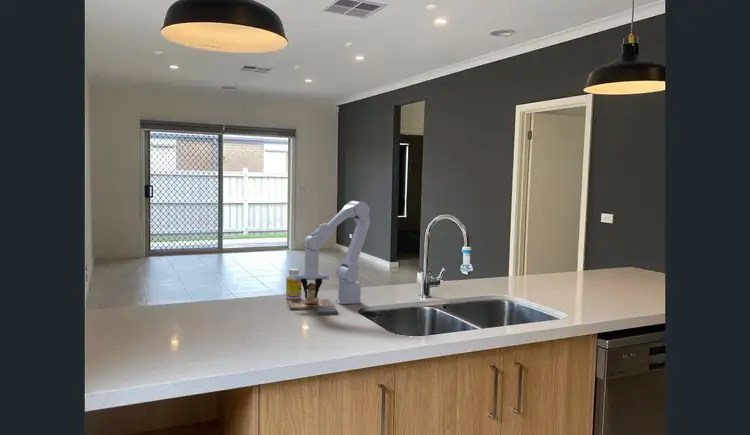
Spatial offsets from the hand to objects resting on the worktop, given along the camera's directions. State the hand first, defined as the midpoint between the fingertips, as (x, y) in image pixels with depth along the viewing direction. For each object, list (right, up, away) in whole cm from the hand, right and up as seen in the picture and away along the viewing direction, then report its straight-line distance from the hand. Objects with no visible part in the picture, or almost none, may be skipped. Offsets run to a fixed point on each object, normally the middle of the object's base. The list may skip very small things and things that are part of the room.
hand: (310, 296), depth 224 cm
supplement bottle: (-9, -3, +13) cm, 16 cm away
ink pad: (+7, -5, -10) cm, 13 cm away
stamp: (0, -3, -1) cm, 3 cm away
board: (0, -4, 0) cm, 4 cm away
